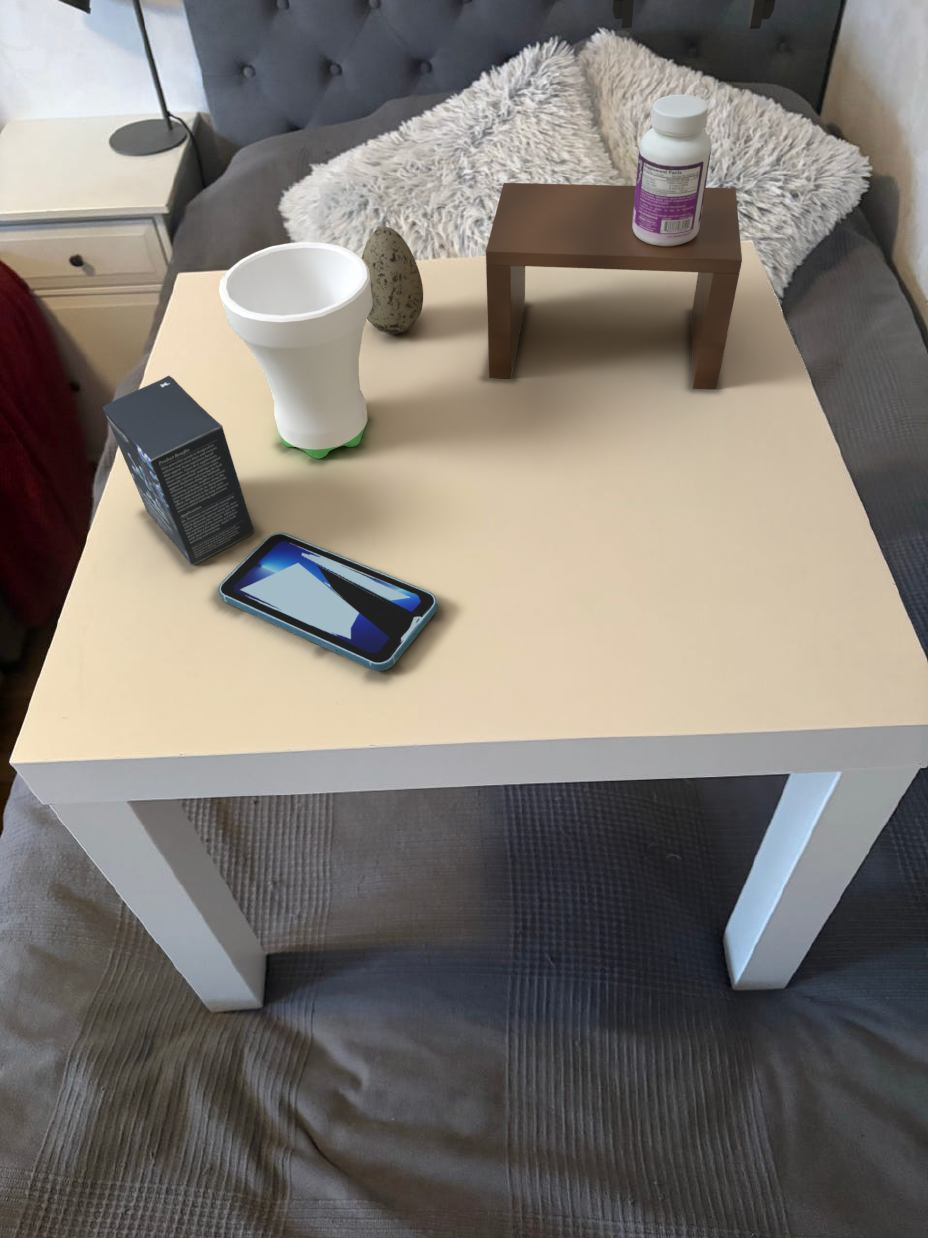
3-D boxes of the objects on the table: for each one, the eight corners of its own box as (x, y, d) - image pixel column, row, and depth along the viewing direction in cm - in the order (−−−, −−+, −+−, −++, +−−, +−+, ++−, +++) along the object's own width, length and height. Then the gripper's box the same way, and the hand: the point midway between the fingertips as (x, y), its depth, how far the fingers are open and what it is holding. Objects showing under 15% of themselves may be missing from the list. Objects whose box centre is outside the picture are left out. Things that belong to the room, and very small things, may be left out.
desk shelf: (712, 313, 88) (735, 187, 78) (716, 389, 80) (742, 259, 71) (504, 305, 90) (503, 182, 81) (488, 377, 82) (485, 250, 73)
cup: (335, 492, 73) (304, 336, 63) (232, 447, 78) (186, 294, 67) (415, 416, 79) (399, 262, 68) (315, 379, 83) (285, 227, 73)
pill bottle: (647, 210, 76) (661, 84, 69) (708, 224, 74) (729, 96, 67) (620, 239, 73) (631, 111, 66) (682, 254, 72) (701, 124, 64)
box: (145, 514, 73) (99, 404, 65) (209, 482, 75) (172, 372, 67) (191, 568, 69) (148, 459, 60) (257, 534, 71) (223, 423, 63)
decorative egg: (408, 352, 86) (397, 250, 78) (353, 339, 87) (337, 238, 80) (436, 319, 89) (429, 218, 81) (383, 307, 91) (371, 207, 83)
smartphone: (275, 528, 70) (442, 596, 64) (278, 537, 70) (443, 605, 65) (211, 591, 66) (383, 670, 60) (215, 600, 67) (385, 678, 61)
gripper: (597, -296, 49) (582, 45, 61) (876, -309, 47) (802, 45, 59) (604, -312, 54) (588, 7, 66) (858, -325, 52) (793, 6, 64)
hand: (690, 25), depth 63 cm, fingers open, 8 cm apart
